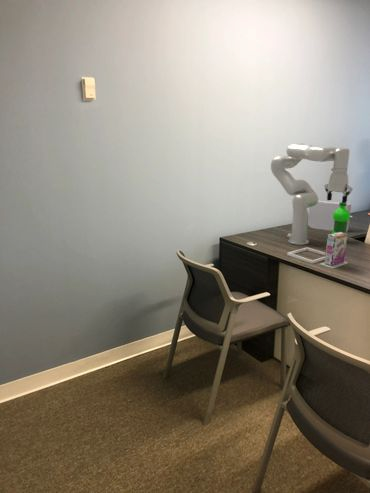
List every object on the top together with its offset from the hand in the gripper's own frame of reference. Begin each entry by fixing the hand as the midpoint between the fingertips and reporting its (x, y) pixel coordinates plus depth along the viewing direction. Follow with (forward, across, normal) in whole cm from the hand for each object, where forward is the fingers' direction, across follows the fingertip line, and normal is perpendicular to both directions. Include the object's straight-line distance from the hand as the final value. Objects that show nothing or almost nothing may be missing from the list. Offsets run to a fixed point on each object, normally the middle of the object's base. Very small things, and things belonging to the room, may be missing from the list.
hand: (336, 201), depth 218 cm
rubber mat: (+30, +14, -17) cm, 37 cm away
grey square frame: (+30, -2, -17) cm, 35 cm away
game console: (+31, -33, +43) cm, 62 cm away
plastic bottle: (+31, -11, +24) cm, 40 cm away
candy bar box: (+30, +14, -17) cm, 37 cm away
